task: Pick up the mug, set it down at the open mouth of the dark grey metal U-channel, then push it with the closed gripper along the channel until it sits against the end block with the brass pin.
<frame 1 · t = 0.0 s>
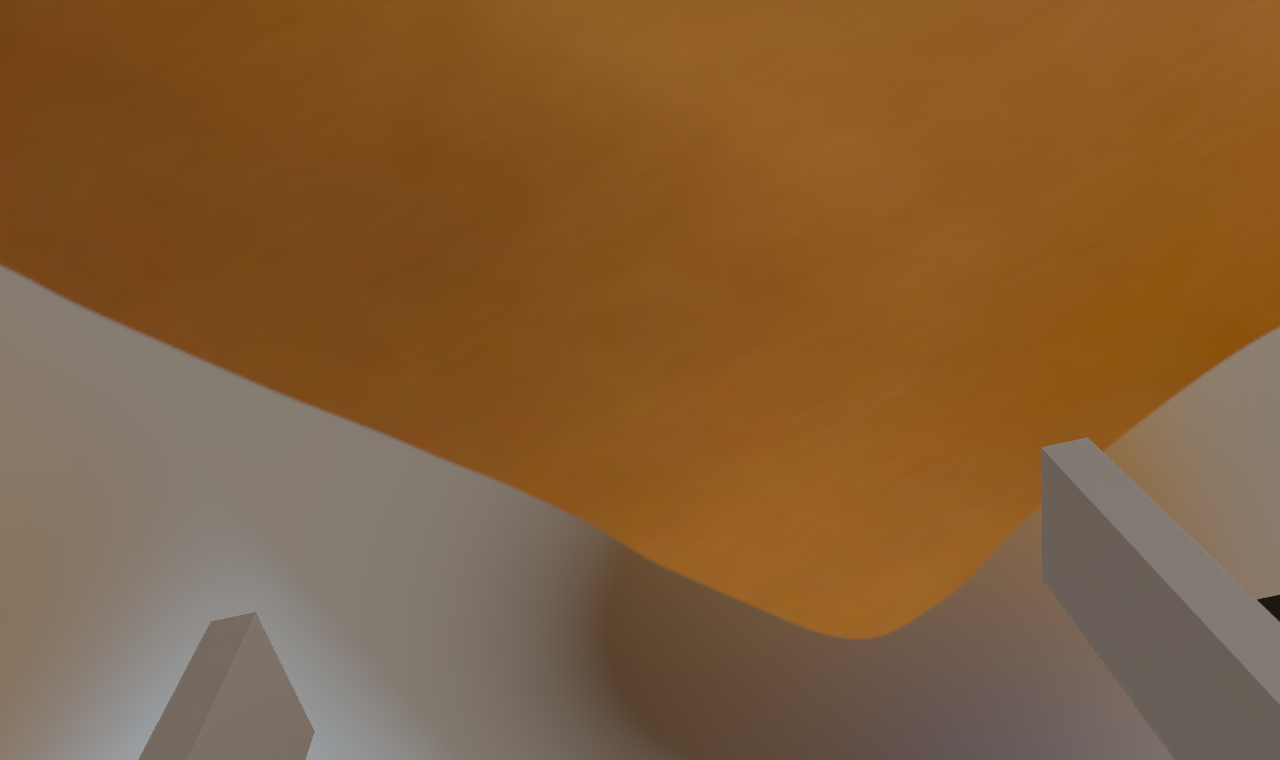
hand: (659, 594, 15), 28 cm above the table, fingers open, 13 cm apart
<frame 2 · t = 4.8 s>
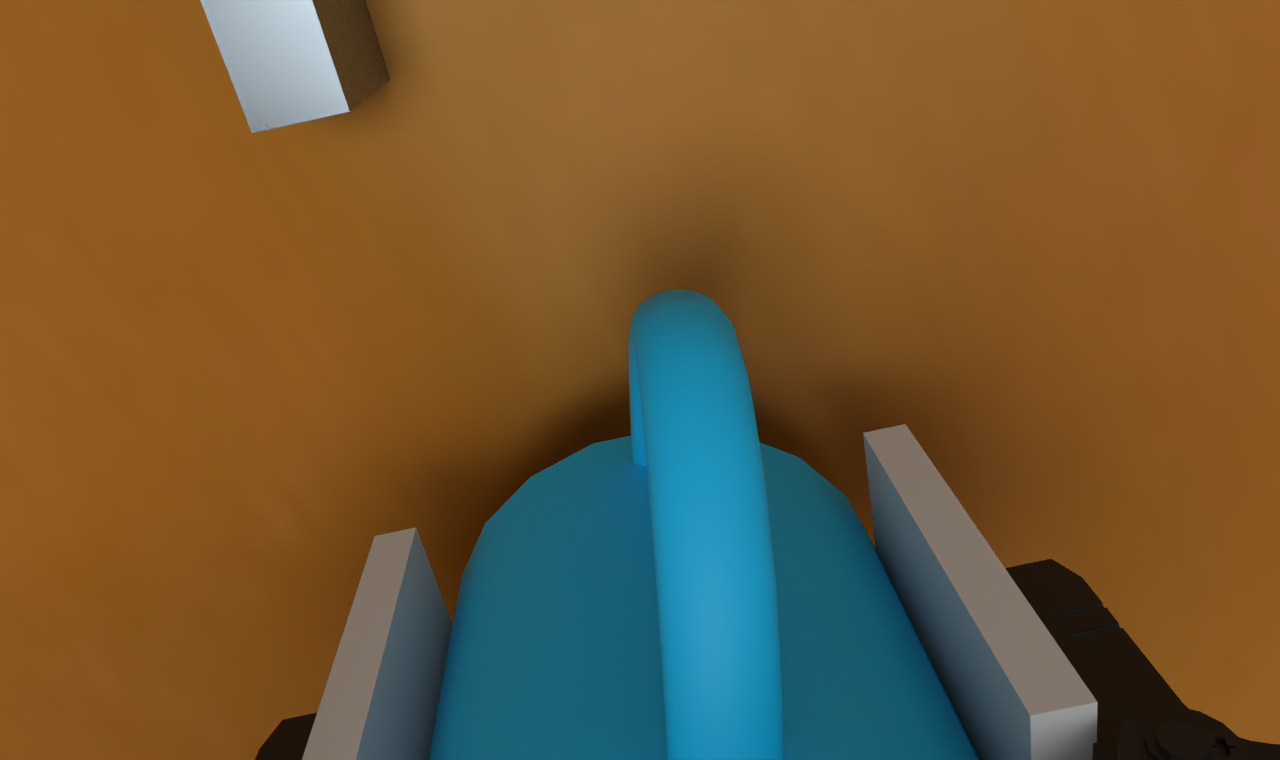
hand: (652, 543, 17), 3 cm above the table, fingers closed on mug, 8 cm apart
mug: (667, 525, 17), point 3 cm above the table, touching gripper
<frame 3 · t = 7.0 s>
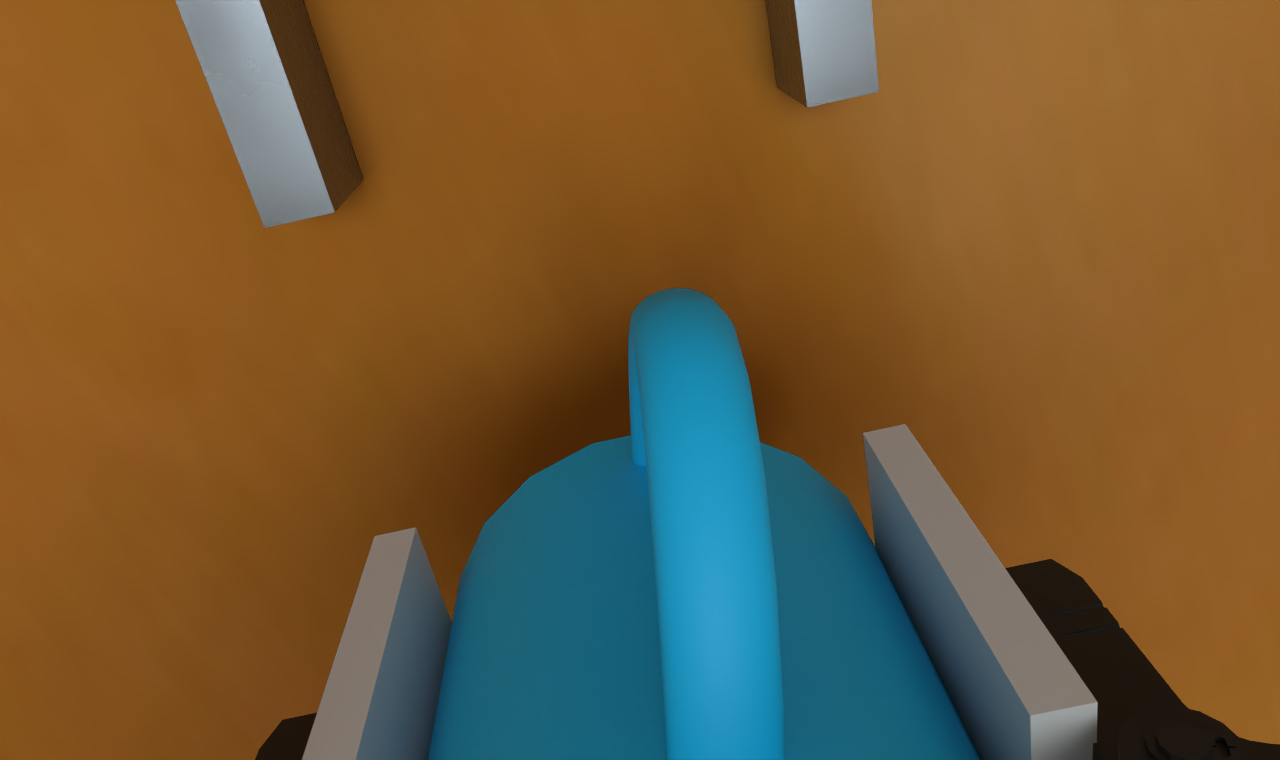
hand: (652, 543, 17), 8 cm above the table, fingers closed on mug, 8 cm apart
mug: (667, 525, 17), point 8 cm above the table, touching gripper
when the fingers open (1 cm above the table, at t = 9.1 s): mug stays where it is, on the table.
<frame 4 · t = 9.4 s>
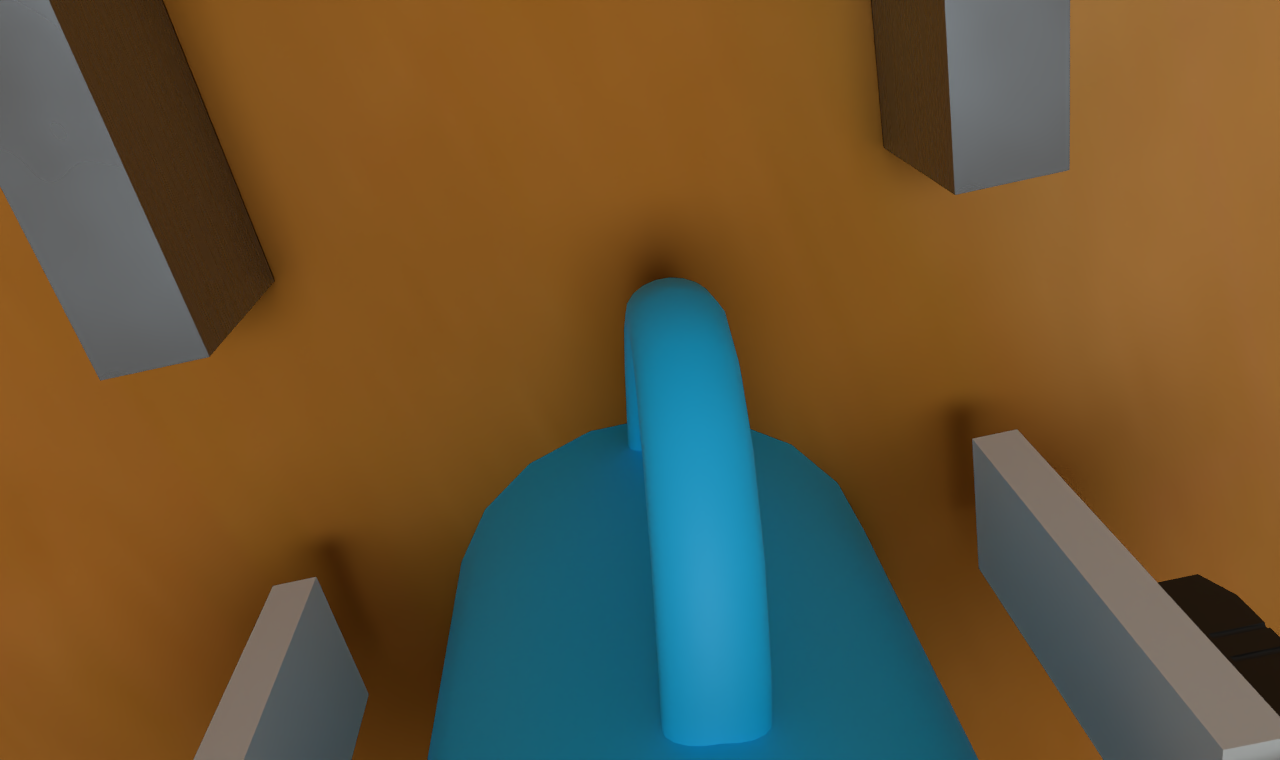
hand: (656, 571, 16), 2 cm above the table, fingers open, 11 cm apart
mug: (662, 510, 18), on the table
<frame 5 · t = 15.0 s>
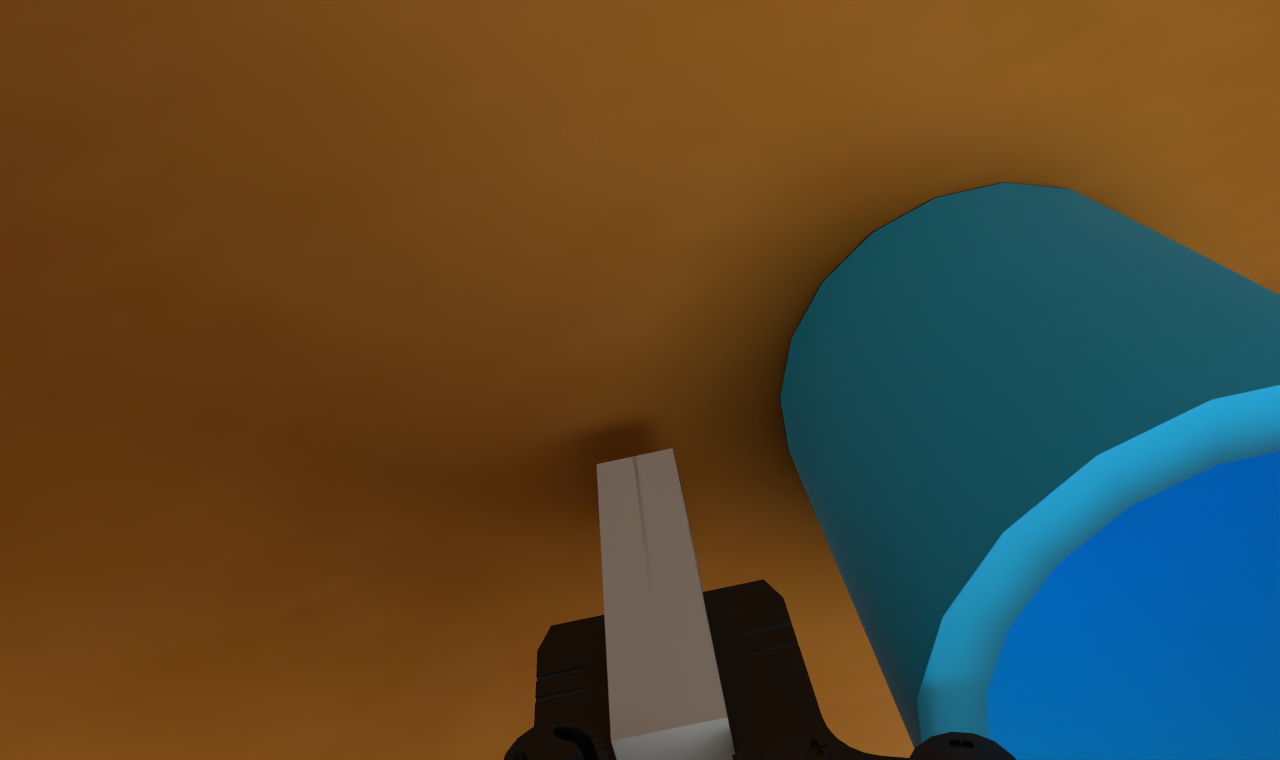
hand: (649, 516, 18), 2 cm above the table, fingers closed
mug: (1066, 370, 19), on the table, touching gripper
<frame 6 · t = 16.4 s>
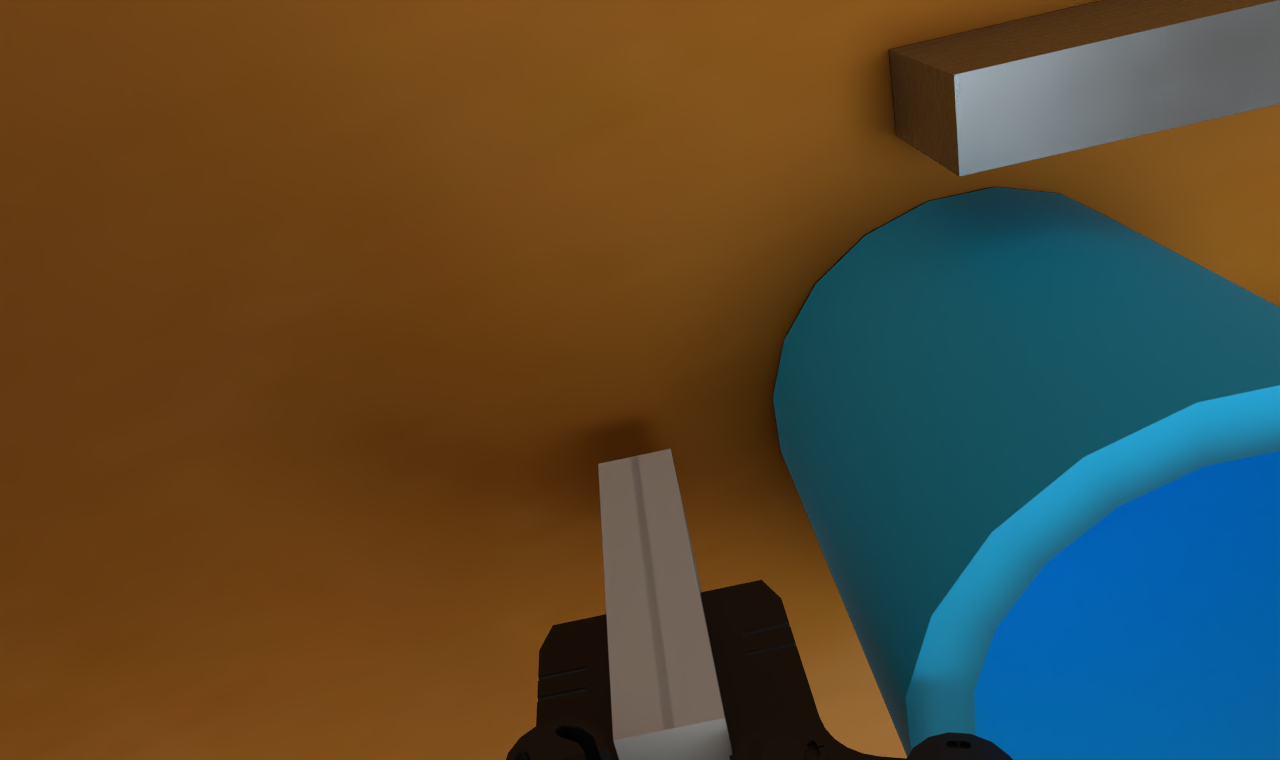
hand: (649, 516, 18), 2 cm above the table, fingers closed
mug: (1056, 373, 19), on the table, touching gripper
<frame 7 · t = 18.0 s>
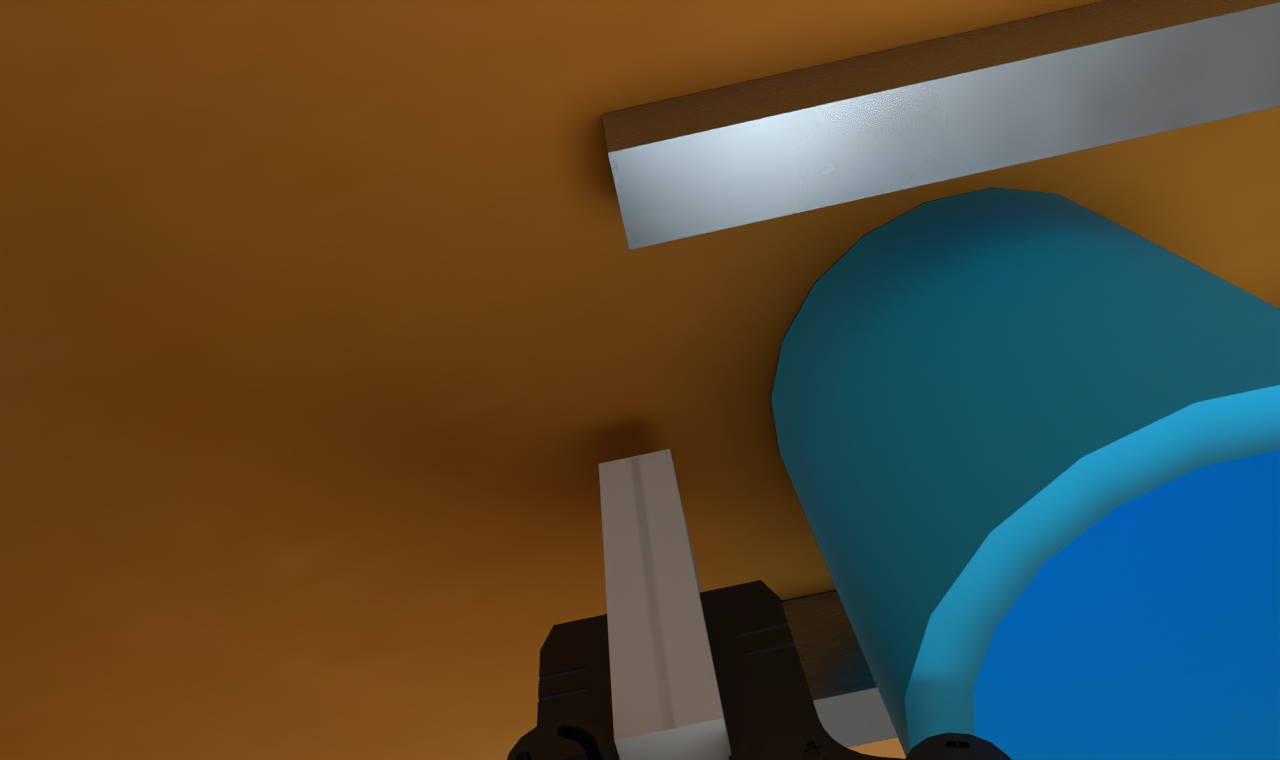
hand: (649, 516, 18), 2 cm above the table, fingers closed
mug: (1054, 374, 19), on the table, touching gripper
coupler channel: (1058, 348, 19), on the table
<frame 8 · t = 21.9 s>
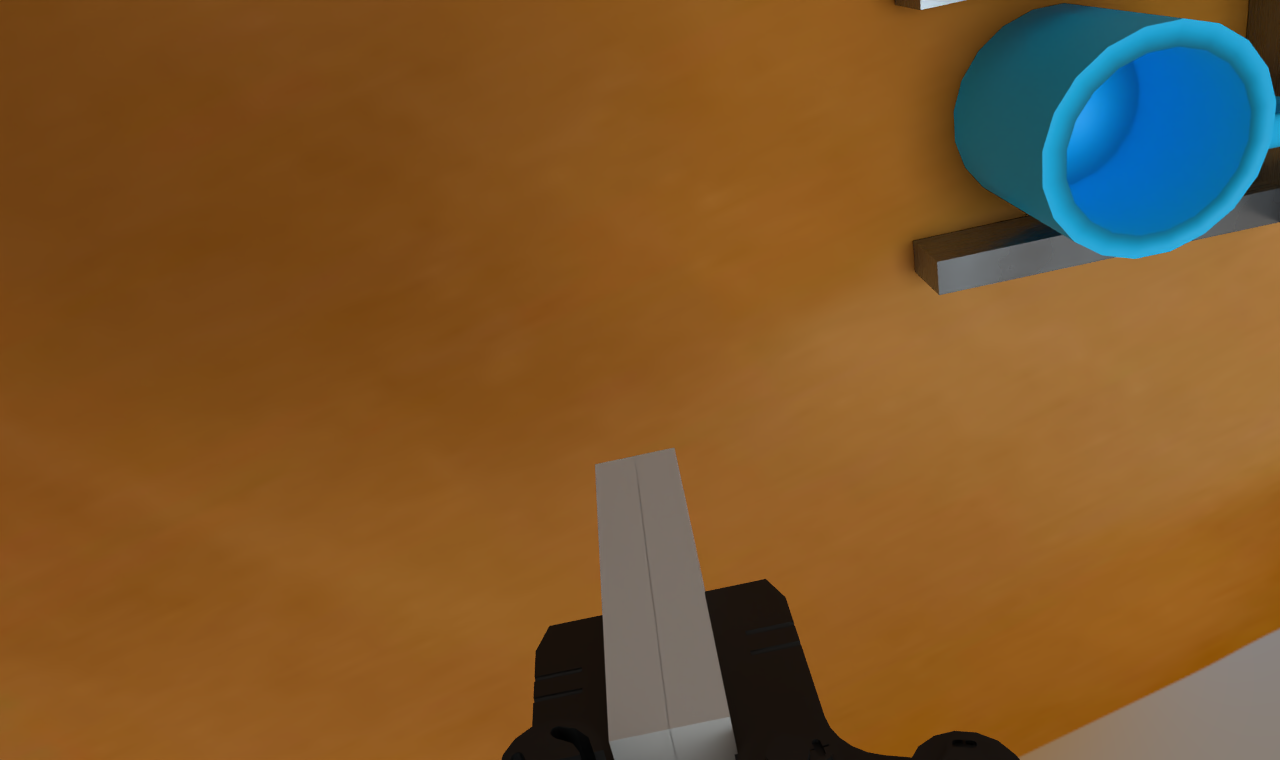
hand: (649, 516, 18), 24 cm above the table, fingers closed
mug: (1089, 103, 40), on the table
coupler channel: (1091, 88, 39), on the table
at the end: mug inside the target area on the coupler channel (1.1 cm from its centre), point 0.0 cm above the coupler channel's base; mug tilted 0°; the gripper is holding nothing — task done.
